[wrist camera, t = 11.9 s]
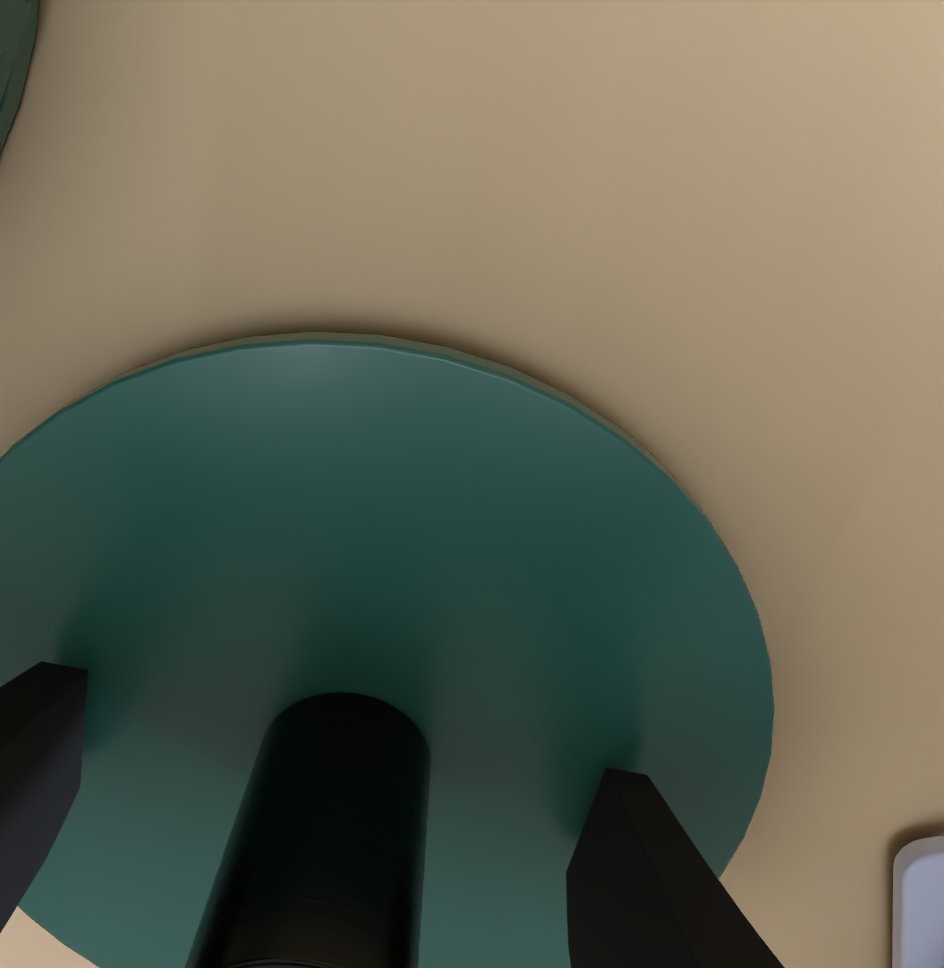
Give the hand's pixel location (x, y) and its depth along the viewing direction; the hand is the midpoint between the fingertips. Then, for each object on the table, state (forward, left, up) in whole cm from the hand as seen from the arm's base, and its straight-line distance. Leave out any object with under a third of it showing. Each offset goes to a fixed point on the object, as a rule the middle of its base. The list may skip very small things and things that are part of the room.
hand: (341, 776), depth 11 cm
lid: (0, 0, -1) cm, 1 cm away
